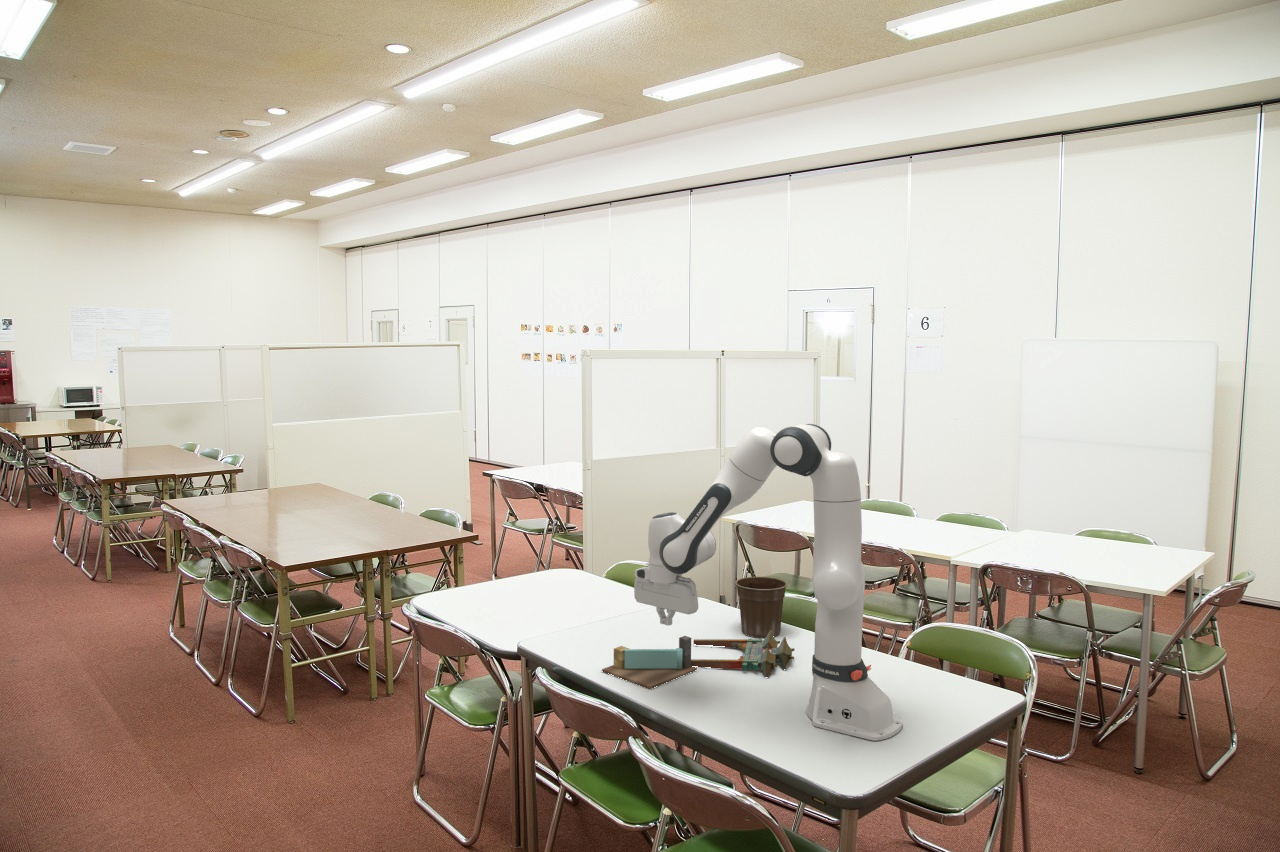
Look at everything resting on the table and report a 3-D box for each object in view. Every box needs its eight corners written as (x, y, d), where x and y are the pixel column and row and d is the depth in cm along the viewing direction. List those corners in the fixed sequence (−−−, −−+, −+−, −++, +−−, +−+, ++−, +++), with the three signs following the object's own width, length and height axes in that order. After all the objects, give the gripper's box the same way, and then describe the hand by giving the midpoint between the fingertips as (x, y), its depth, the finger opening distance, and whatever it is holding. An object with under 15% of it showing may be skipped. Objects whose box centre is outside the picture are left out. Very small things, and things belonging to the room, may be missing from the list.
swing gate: (682, 669, 229) (682, 650, 228) (624, 669, 228) (624, 650, 228) (682, 667, 231) (682, 647, 230) (624, 667, 230) (624, 648, 230)
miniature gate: (695, 629, 256) (794, 629, 250) (696, 647, 256) (795, 647, 250) (682, 660, 230) (792, 660, 224) (683, 679, 230) (793, 680, 224)
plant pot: (723, 631, 265) (724, 581, 264) (756, 621, 276) (757, 573, 275) (763, 644, 253) (764, 592, 252) (796, 633, 264) (797, 583, 263)
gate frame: (696, 670, 231) (697, 638, 230) (649, 689, 217) (650, 655, 216) (649, 654, 243) (649, 624, 242) (602, 671, 229) (602, 639, 229)
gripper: (703, 576, 217) (703, 629, 218) (645, 565, 231) (646, 614, 232) (687, 581, 213) (688, 634, 214) (630, 569, 227) (631, 619, 228)
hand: (666, 624), depth 223 cm, fingers closed
